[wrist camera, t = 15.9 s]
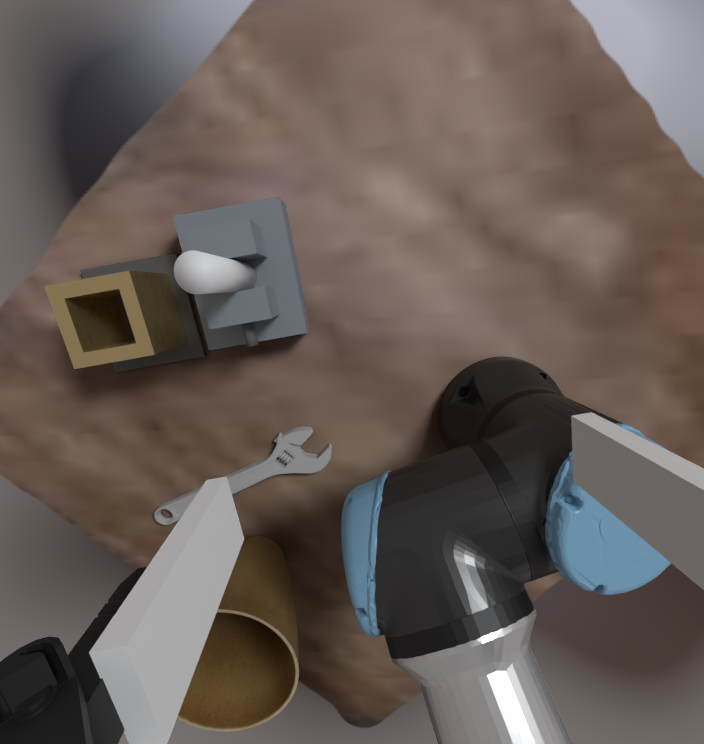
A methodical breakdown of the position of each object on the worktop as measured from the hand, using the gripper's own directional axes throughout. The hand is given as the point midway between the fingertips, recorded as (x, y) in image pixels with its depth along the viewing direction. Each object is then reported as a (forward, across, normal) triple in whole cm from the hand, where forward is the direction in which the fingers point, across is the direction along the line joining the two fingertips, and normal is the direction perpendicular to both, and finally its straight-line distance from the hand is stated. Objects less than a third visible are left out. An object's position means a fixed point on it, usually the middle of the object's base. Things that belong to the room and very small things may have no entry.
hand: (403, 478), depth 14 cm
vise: (+32, +11, -10) cm, 35 cm away
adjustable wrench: (+32, +18, +14) cm, 40 cm away
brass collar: (+31, +24, -8) cm, 40 cm away
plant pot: (+32, +19, +27) cm, 46 cm away
